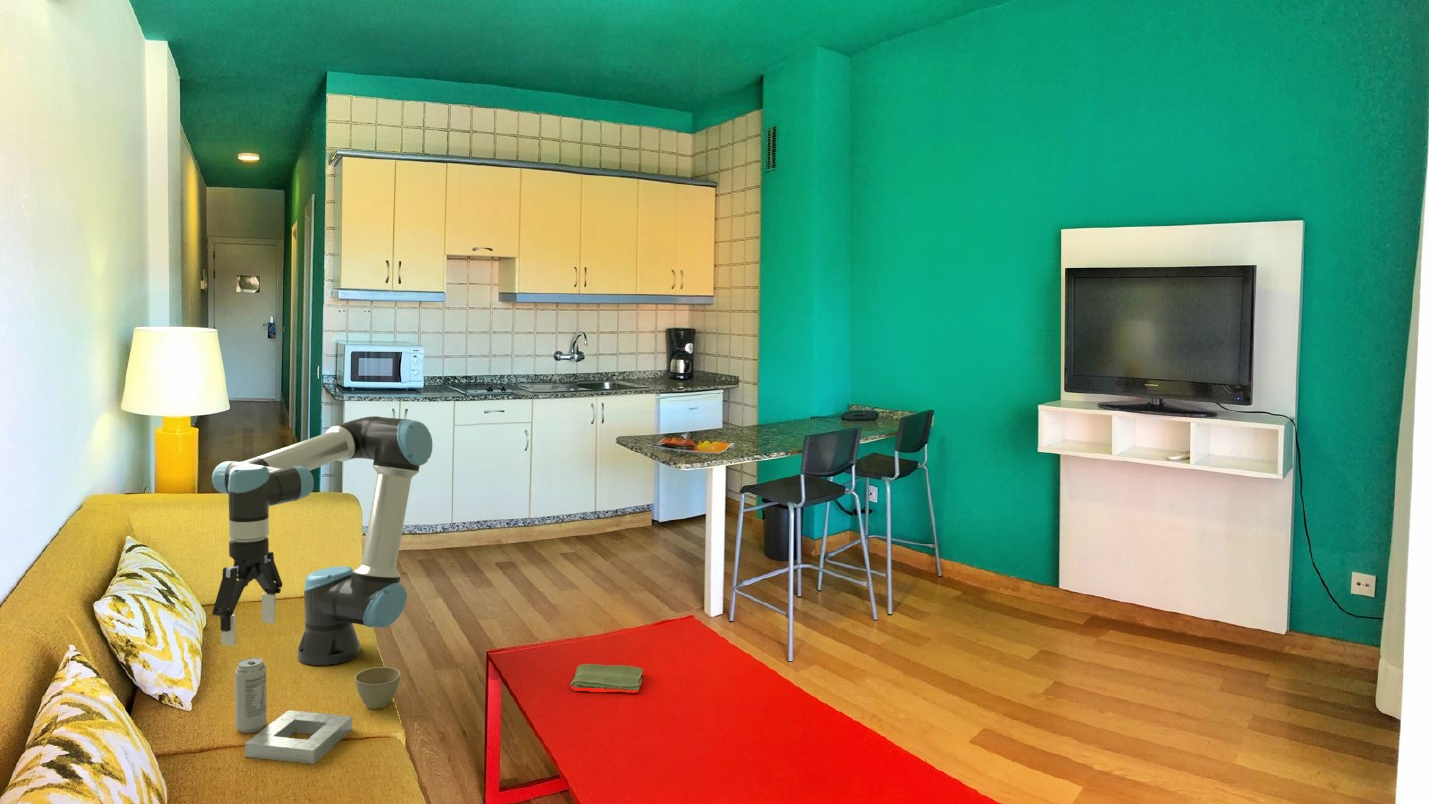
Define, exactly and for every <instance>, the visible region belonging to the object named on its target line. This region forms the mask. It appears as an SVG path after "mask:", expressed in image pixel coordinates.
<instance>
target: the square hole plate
mask: <svg viewBox="0 0 1429 804" xmlns="http://www.w3.org/2000/svg"><path fill="white" fill-rule="evenodd" d="M351 731H353V716H351V715H350V716H348V715H341V714H340V715H339V714H329V713H320V712H310V711H300V710H289V709H288V710H286V711H285V712H284V713H283V714H282V715H280V716H279V717H277V718H276V719H275V720H274V721H272V722H271V723H269V724H268V725H267V726H265V727H263V728H262V729H261V730H259V732H258V733H256V734H255V735H253V737H251V738H250V739H248V740H247V741H246V742H244V750H245V751H244V757H245V758H252V759H260V760H261V759H262V760H269V761H270V760H271V761H281V762H287V763H288V762H289V763H297V762H300V763H299V764H306V763H310V764H309V765H315V764H316V763H317V762H318V761H319V760H320V759H321V758H322V757H324V756H325V755H326V754H327V753H328V752H329V751H330V750H331V749H333V748H334V747H335V745H337V744H338V743H339V742H340V741H341V740H342V739H344V738H345V737H346V736H347V735H348V734H349V733H350V732H351ZM294 733H295V734H296V733H297V734H305V735H311V736H310V737H309V738H308V739H303V738H294V737H290V736H292V735H293V734H294Z"/></svg>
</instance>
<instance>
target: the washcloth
mask: <svg viewBox="0 0 1429 804" xmlns="http://www.w3.org/2000/svg"><path fill="white" fill-rule="evenodd" d="M575 670H576V671H575V673H574V677H573V679H572V681H571V683H570V686H573V687H576V688H579V687H581V688H583V687H584V688H585V687H586V688H604V689H607V688H608V689H613V688H614V689H622V690H624V689H625V690H636V691H637V690H638V691H639V689H640V687H639V686H641V684H642V682H643V679H642V678H641V675H642V676H643V674H642V672H643V673H644V669H643V668H641V667H637V666H633V665H632V666H631V665H615V664H613V665H611V664H610V665H605V664H598V663H595V664H593V663H584V664H579V665H578V666H577V667H576V669H575ZM570 686H569V687H570Z"/></svg>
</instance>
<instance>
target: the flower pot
mask: <svg viewBox="0 0 1429 804" xmlns="http://www.w3.org/2000/svg"><path fill="white" fill-rule="evenodd" d="M401 674H402V673H401V672H400V670H399V669H397V668H394V667H390V666H389V667H388V666H377V667H369V668H367V669H363V670H361V671H358V673H356V675H355V676H354V681H355V687H356V691H357V693H358V696H359V697H360V699H361V701H362V703H363V704H364V705H365V707H366V708H367V709H371V710H378V709H383V708H385V707H388V705H389V704H390V703H391V701H392V700H393V697H394V696H395V694H396V692H397V690H398V687H399V684H400V679H401Z"/></svg>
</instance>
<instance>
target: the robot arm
mask: <svg viewBox="0 0 1429 804" xmlns="http://www.w3.org/2000/svg"><path fill="white" fill-rule="evenodd" d="M432 452H433V438H432V434H431V432H430V430H429V428H428V427H427V426H426V425H425V424H424V423H423V422H421V421H418V420H413V419H409V418H408V419H407V418H395V417H394V418H392V417H382V416H378V415H376V416H366V417H361V418H357V419H353V420H349V421H346V422H344V423H340V424H337V425H334V426H331V427H330V428H328V429H327V431H326V432H325V433H323V434H320V435H317V436H314V437H311V438H308V439H305V440H303V441H299V442H297V443H293V444H291V445H289V446H285V447H282V448H280V449H275V450H273V451H270V452H268V453H265V454H262V455H259V456H256V457H252V458H250V459H247V460H243V461H236V460H235V461H234V460H231V461H229V460H228V461H223V462H221V463H219V464H218V465H216V467H215V468H214V470H213V472H212V475H211V480H212V486H213V487H214V489H215V490H216V491H217V492H219V493H221V494H227V495H228V519H229V521H228V523H229V524H228V525H229V526H228V527H229V528H228V530H229V531H228V535H229V538H230V540H229V541H228V554H229V555H228V556H229V557H230V558H231V559H233V566H231V567H228V566H224V567H223V568H222V577H221V578H222V579H221V580H220V581H221V582H220V585H219V588H218V591H217V595H216V600H215V602H214V606H213V609H212V616H217V617H219V618H220V631H221V634H220V635H221V637H220V639H221V641H220V642H221V644H220V645H221V646H222V645H223V646H229V647H231V646H232V647H234V646H236V644H237V633H236V632H237V625H236V624H237V623H236V621H237V619H236V614H234V612H235V610H236V607H237V605H238V602H239V600H240V598H241V596H242V593H243V591H244V589H245V587H247V586H248V585H249V584H250V582H252V581H253V580H255V581H256V582H257V583H258V585H259V586H260V588H261V589H262V590H263V591H264V593H262V594H261V623H266V624H275V623H276V598H277V597H276V595H277V594H280V593H282V592H281V591H282V589H281V588H282V587H283V581H282V579H281V576H280V574H279V571H278V568H277V565H276V563H275V558H274V557H275V556H274V552H273V551H269V543H270V542H269V537H268V535H270V534H269V533H270V530H269V529H270V526H269V525H270V523H269V522H270V521H269V516H270V515H269V511H270V510H269V507H271V506H275V505H280V504H284V503H290V502H296V501H298V500H301V499H304V498H306V497H308V496H309V495H310V494H311V493H312V492H313V490H314V485H315V483H314V481H315V480H314V476H313V474H312V473H311V471H312V470H315V469H318V468H320V467H323V466H325V465H326V466H327V465H328V464H331V463H333V462H334V463H335V461H338V462H346V461H350V460H353V459H363V460H365V459H366V460H371V461H372V460H373V463H372V468H373V469H374V470H375V472H376V473H377V475H376V479H375V480H376V481H375V487H374V491H373V498H372V503H371V508H370V515H369V518H368V524H367V525H368V526H367V529H366V536H365V540H364V541H365V542H364V546H363V547H364V548H363V552H362V558H361V564H360V565H359V567H357V568H356V569H354V570H353V568H352V567H351V566H346V565H345V566H342V565H341V566H332V567H327V568H322V569H317V570H315V571H313V572H311V573H309V574H308V575H307V576H306V577H305V580H304V589H303V592H304V594H303V595H304V599H303V600H304V631H303V634H302V637H301V639H300V642H299V645H298V648H297V660H298V659H299V660H298V661H299V662H300V661H301V662H300V663H302V662H303V663H302V664H304V663H306V664H305V665H307V664H313V665H312V666H315V665H325V666H331V665H330V664H334V665H338V663H339V664H342V663H341V662H343V663H345V661H346V662H348V661H351V660H352V659H355V658H357V656H358V655H359V654H360V652H361V650H360V649H361V646H360V645H361V644H360V640H359V638H358V634H357V632H356V629H355V627H354V624H357V625H361V626H365V627H368V628H379V629H382V628H386V627H387V628H388V627H389V626H391V625H392V624H394V623H395V622H396V621H397V620H398V619H399V618H400V616H401V615H402V614H403V611H404V609H405V606H406V603H407V595H408V594H407V591H406V587H405V586H404V585H403V584H402V583H401V582H400V581H401V574H400V572H399V571H398V569H397V563H398V558H399V552H400V546H401V541H402V534H403V529H404V528H403V527H404V524H405V516H406V511H407V508H408V507H407V505H408V500H409V494H410V491H411V483H412V482H411V481H412V478H414V476H416V475H417V474H419V471H420V467H421V466H423V465H425V464H426V463H427V462H428V461H429V459H430V458H431V455H432V454H433V453H432ZM328 664H329V665H328Z"/></svg>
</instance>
